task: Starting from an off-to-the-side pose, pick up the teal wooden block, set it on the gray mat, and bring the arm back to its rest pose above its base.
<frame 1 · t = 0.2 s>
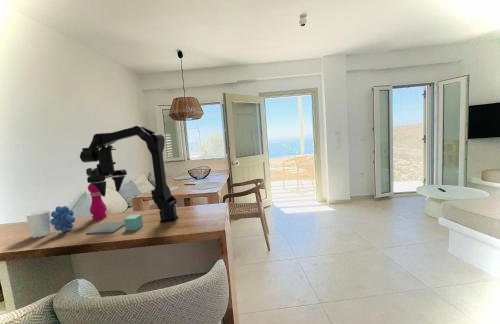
hand: (111, 193, 116), 14 cm above the table, tool pointing down, fingers open, 9 cm apart
white cup: (42, 235, 109), on the table
grapes: (67, 232, 110), on the table
gray mat: (108, 228, 110), on the table
teal block: (134, 227, 108), on the table
pepper mill: (99, 218, 126), on the table
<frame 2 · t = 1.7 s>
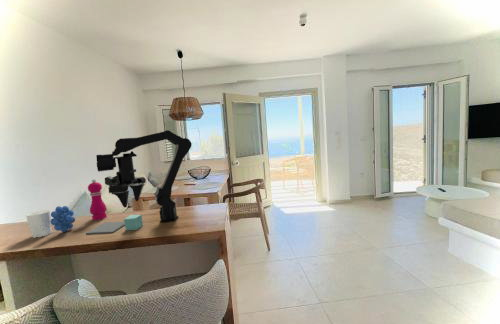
hand: (131, 204, 107), 11 cm above the table, tool pointing down, fingers open, 9 cm apart
nothing on the table moved.
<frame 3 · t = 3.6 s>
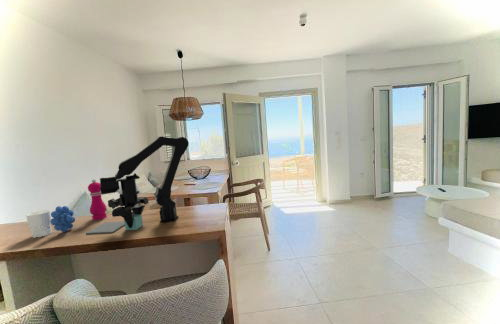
hand: (134, 225, 108), 1 cm above the table, tool pointing down, fingers closed on teal block, 5 cm apart
teal block: (134, 227, 108), on the table, touching gripper
everything else where it was.
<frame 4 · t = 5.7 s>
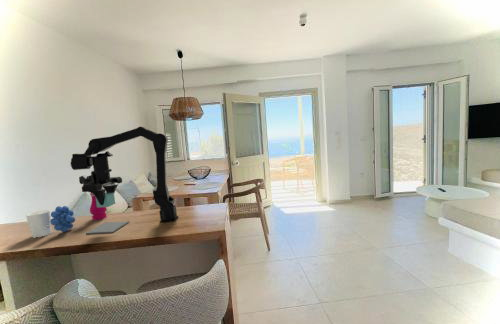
hand: (106, 203, 109), 11 cm above the table, tool pointing down, fingers closed on teal block, 5 cm apart
teal block: (106, 205, 109), point 10 cm above the table, touching gripper
everything else where it was.
when the fingers open (3 cm above the table, at t = 8.1 s): teal block drops 1 cm, resting on gray mat.
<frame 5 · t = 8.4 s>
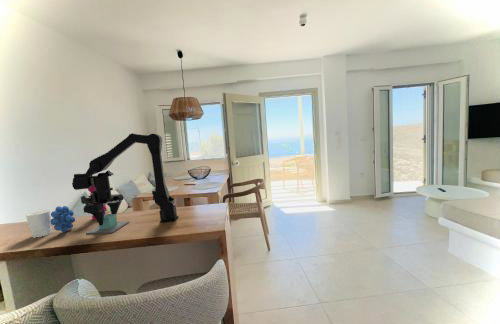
hand: (107, 221, 110), 3 cm above the table, tool pointing down, fingers open, 8 cm apart
teal block: (108, 226, 110), point 1 cm above the table, touching gray mat
everything else where it was.
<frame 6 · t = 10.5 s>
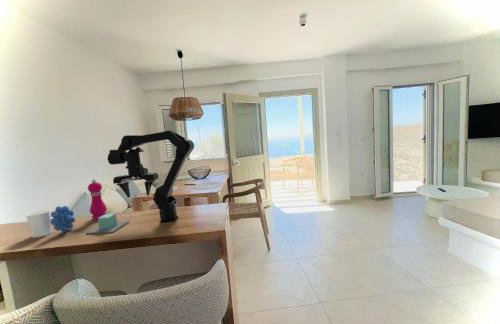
hand: (138, 196, 115), 12 cm above the table, tool pointing down, fingers open, 9 cm apart
nothing on the table moved.
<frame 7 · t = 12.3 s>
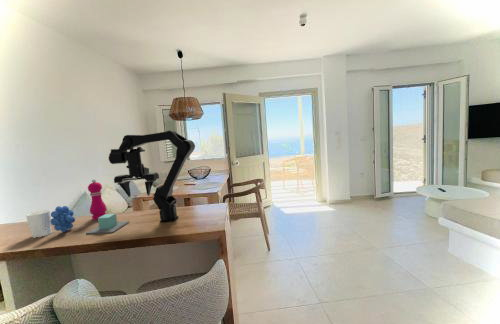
hand: (139, 196, 115), 12 cm above the table, tool pointing down, fingers open, 9 cm apart
nothing on the table moved.
at the end: teal block inside the target area on the gray mat (0.0 cm from its centre), point 0.6 cm above the gray mat's base; teal block tilted 0°; the gripper is holding nothing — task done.
